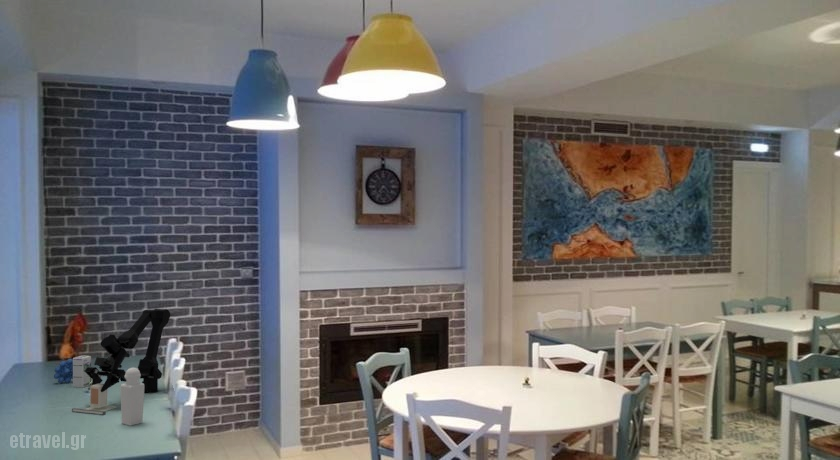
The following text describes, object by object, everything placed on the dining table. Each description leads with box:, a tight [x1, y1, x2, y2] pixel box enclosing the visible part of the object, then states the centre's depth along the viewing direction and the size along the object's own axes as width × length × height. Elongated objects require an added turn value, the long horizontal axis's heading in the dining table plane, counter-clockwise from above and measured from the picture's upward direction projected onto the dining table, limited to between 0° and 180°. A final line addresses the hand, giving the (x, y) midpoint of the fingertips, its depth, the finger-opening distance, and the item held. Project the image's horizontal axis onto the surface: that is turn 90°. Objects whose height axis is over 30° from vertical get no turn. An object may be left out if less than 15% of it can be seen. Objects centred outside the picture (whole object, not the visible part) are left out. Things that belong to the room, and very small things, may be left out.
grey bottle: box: [120, 367, 145, 427], centre depth 258 cm, size 6×6×22 cm
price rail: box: [71, 407, 107, 416], centre depth 271 cm, size 16×1×1 cm, turn 75°
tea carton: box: [89, 383, 108, 408], centre depth 276 cm, size 5×5×9 cm
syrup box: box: [72, 355, 92, 389], centre depth 317 cm, size 6×6×14 cm
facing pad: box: [85, 404, 118, 412], centre depth 277 cm, size 10×10×1 cm
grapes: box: [53, 358, 73, 384], centre depth 323 cm, size 12×7×12 cm, turn 116°
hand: (96, 391), depth 275 cm, fingers open, 5 cm apart
